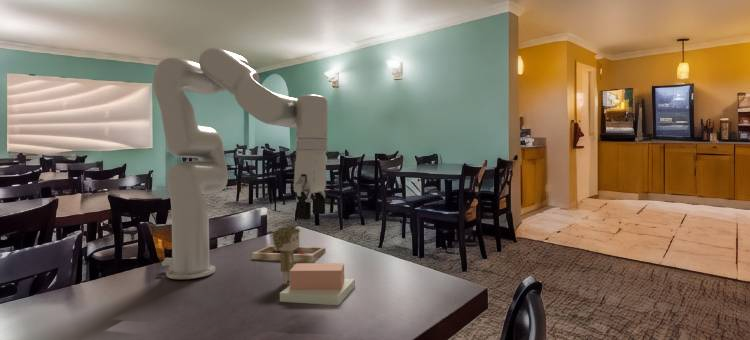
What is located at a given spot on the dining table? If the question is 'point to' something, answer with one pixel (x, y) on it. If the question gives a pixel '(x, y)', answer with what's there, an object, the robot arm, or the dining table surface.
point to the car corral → (304, 258)
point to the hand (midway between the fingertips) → (311, 216)
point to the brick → (317, 276)
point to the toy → (286, 248)
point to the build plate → (318, 294)
